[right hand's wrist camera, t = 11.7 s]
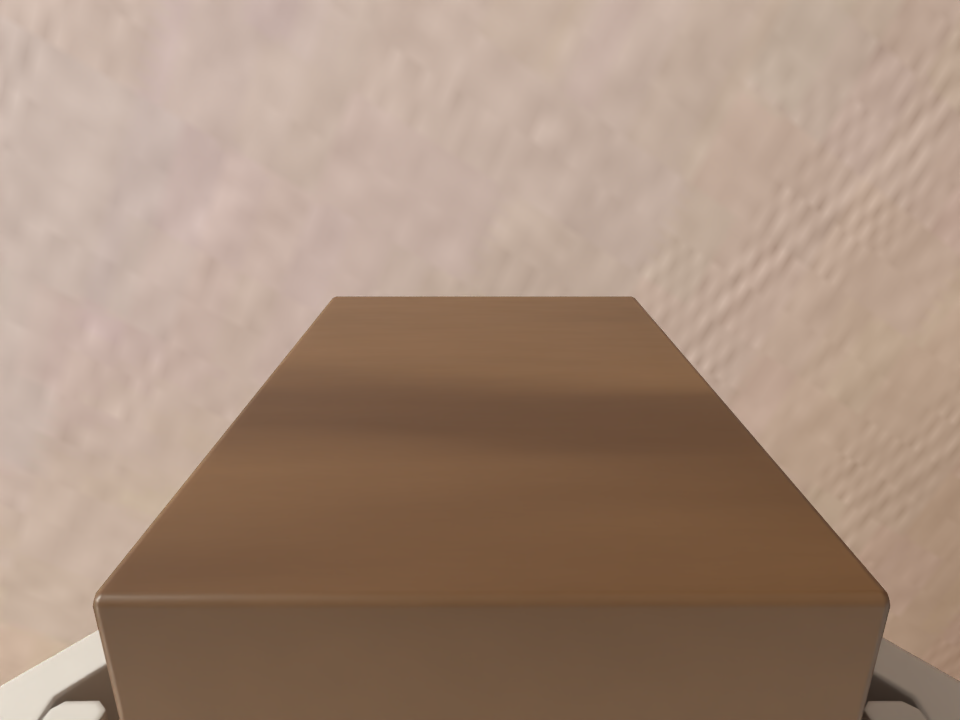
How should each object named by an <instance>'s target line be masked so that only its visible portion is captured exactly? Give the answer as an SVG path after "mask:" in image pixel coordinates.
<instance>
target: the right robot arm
mask: <svg viewBox="0 0 960 720" xmlns="http://www.w3.org/2000/svg"><path fill="white" fill-rule="evenodd" d="M0 720H120V719H119V714H118V710H117V706H116V702H115V697H114V693H113V689H112V685H111V681H110V676H109V672H108V668H107V664H106V659H105V655H104V651H103V647H102V643H101V638H100V634H99V630H97V631H96V632H94V633H92V634H90V635H89V636H87V637H85V638H83V639H82V640H80V641H78V642H76V643H75V644H73V645H71V646H69V647H68V648H66V649H64V650H62V651H61V652H59V653H57V654H56V655H54V656H52V657H50V658H49V659H47V660H45V661H43V662H42V663H40V664H38V665H36V666H35V667H33V668H31V669H29V670H28V671H26V672H24V673H22V674H21V675H19V676H17V677H15V678H14V679H12V680H10V681H8V682H7V683H5V684H3V685H2V686H0ZM862 720H960V681H958V680H956V679H955V678H953V677H951V676H949V675H947V674H946V673H944V672H942V671H940V670H939V669H937V668H935V667H933V666H932V665H930V664H928V663H926V662H925V661H923V660H921V659H919V658H918V657H916V656H914V655H912V654H911V653H909V652H907V651H905V650H904V649H902V648H900V647H898V646H897V645H895V644H893V643H891V642H890V641H888V640H886V639H884V638H883V637H882V640H881V644H880V648H879V652H878V656H877V660H876V664H875V668H874V672H873V676H872V680H871V684H870V688H869V692H868V696H867V700H866V704H865V708H864V712H863V716H862Z"/></svg>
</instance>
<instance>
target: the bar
mask: <svg viewBox="0 0 960 720" xmlns="http://www.w3.org/2000/svg"><path fill="white" fill-rule="evenodd" d="M93 609H94V613H95V617H96V621H97V626H98V630H99V634H100V638H101V643H102V647H103V651H104V655H105V659H106V664H107V668H108V672H109V676H110V681H111V685H112V689H113V693H114V697H115V702H116V706H117V710H118V714H119V719H120V720H862V716H863V712H864V708H865V704H866V700H867V696H868V692H869V688H870V684H871V680H872V676H873V672H874V668H875V664H876V660H877V656H878V652H879V648H880V644H881V640H882V636H883V632H884V628H885V624H886V620H887V616H888V612H889V609H890V602H889V597H888V594H887V592H886V591H885V590H884V589H883V587H882V586H881V585H880V584H879V583H878V582H877V580H876V579H875V578H874V577H873V576H872V575H871V573H870V572H869V571H868V570H867V569H866V568H865V566H864V565H863V564H862V563H861V562H860V561H859V559H858V558H857V557H856V556H855V555H854V554H853V552H852V551H851V550H850V549H849V548H848V547H847V545H846V544H845V543H844V542H843V541H842V540H841V538H840V537H839V536H838V535H837V534H836V533H835V531H834V530H833V529H832V528H831V527H830V526H829V524H828V523H827V522H826V521H825V520H824V519H823V517H822V516H821V515H820V514H819V513H818V512H817V510H816V509H815V508H814V507H813V506H812V505H811V503H810V502H809V501H808V500H807V499H806V498H805V496H804V495H803V494H802V493H801V492H800V491H799V489H798V488H797V487H796V486H795V485H794V484H793V482H792V481H791V480H790V479H789V478H788V477H787V475H786V474H785V473H784V472H783V471H782V470H781V468H780V467H779V466H778V465H777V464H776V463H775V461H774V460H773V459H772V458H771V457H770V456H769V454H768V453H767V452H766V451H765V450H764V449H763V447H762V446H761V445H760V444H759V443H758V442H757V440H756V439H755V438H754V437H753V436H752V435H751V433H750V432H749V431H748V430H747V429H746V428H745V426H744V425H743V424H742V423H741V422H740V421H739V419H738V418H737V417H736V416H735V415H734V414H733V412H732V411H731V410H730V409H729V408H728V407H727V405H726V404H725V403H724V402H723V401H722V400H721V398H720V397H719V396H718V395H717V394H716V393H715V391H714V390H713V389H712V388H711V387H710V386H709V384H708V383H707V382H706V381H705V380H704V379H703V377H702V376H701V375H700V374H699V373H698V372H697V370H696V369H695V368H694V367H693V366H692V365H691V363H690V362H689V361H688V360H687V359H686V358H685V356H684V355H683V354H682V353H681V352H680V351H679V349H678V348H677V347H676V346H675V345H674V344H673V342H672V341H671V340H670V339H669V338H668V337H667V335H666V334H665V333H664V332H663V331H662V330H661V328H660V327H659V326H658V325H657V324H656V323H655V321H654V320H653V319H652V318H651V317H650V316H649V314H648V313H647V312H646V311H645V310H644V309H643V307H642V306H641V305H640V304H639V303H638V302H637V300H636V299H635V298H633V297H334V298H333V299H332V300H331V301H330V302H329V304H328V305H327V306H326V307H325V309H324V310H323V311H322V312H321V314H320V315H319V316H318V317H317V319H316V320H315V321H314V322H313V324H312V325H311V326H310V327H309V329H308V330H307V331H306V332H305V334H304V335H303V336H302V337H301V339H300V340H299V341H298V342H297V344H296V345H295V346H294V347H293V348H292V350H291V351H290V352H289V353H288V355H287V356H286V357H285V358H284V360H283V361H282V362H281V363H280V365H279V366H278V367H277V368H276V370H275V371H274V372H273V373H272V375H271V376H270V377H269V378H268V380H267V381H266V382H265V383H264V385H263V386H262V387H261V388H260V390H259V391H258V392H257V393H256V395H255V396H254V397H253V398H252V400H251V401H250V402H249V403H248V405H247V406H246V407H245V408H244V410H243V411H242V412H241V413H240V415H239V416H238V417H237V418H236V419H235V421H234V422H233V423H232V424H231V426H230V427H229V428H228V429H227V431H226V432H225V433H224V434H223V436H222V437H221V438H220V439H219V441H218V442H217V443H216V444H215V446H214V447H213V448H212V449H211V451H210V452H209V453H208V454H207V456H206V457H205V458H204V459H203V461H202V462H201V463H200V464H199V466H198V467H197V468H196V469H195V471H194V472H193V473H192V474H191V476H190V477H189V478H188V479H187V481H186V482H185V483H184V484H183V485H182V487H181V488H180V489H179V490H178V492H177V493H176V494H175V495H174V497H173V498H172V499H171V500H170V502H169V503H168V504H167V505H166V507H165V508H164V509H163V510H162V512H161V513H160V514H159V515H158V517H157V518H156V519H155V520H154V522H153V523H152V524H151V525H150V527H149V528H148V529H147V530H146V532H145V533H144V534H143V535H142V537H141V538H140V539H139V540H138V542H137V543H136V544H135V545H134V547H133V548H132V549H131V550H130V552H129V553H128V554H127V555H126V556H125V558H124V559H123V560H122V561H121V563H120V564H119V565H118V566H117V568H116V569H115V570H114V571H113V573H112V574H111V575H110V576H109V578H108V579H107V580H106V581H105V583H104V584H103V585H102V586H101V588H100V589H99V590H98V591H97V593H96V595H95V598H94V603H93Z"/></svg>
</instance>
